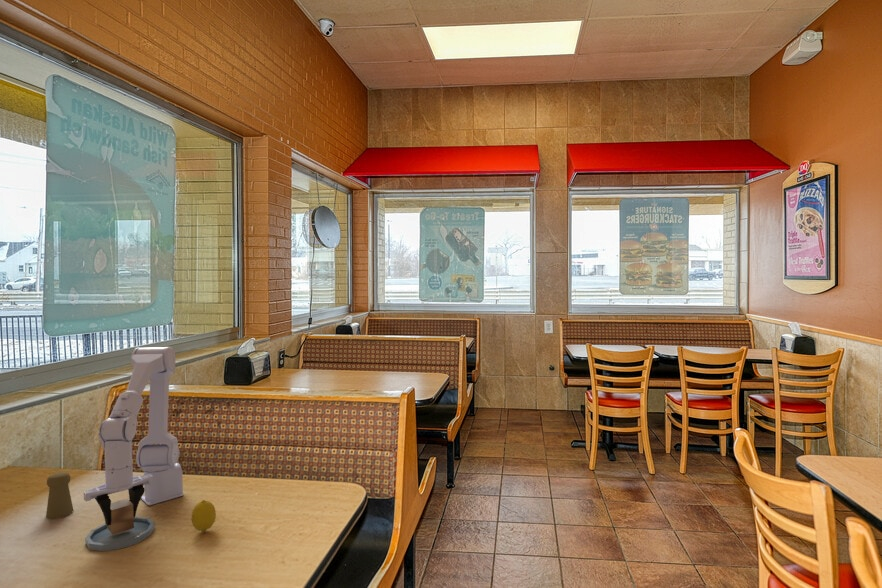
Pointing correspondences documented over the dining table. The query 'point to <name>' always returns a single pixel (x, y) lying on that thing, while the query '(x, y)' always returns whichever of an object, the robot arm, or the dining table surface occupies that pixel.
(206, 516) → the lemon
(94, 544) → the plate
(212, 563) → the dining table surface
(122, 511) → the block
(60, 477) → the cork
